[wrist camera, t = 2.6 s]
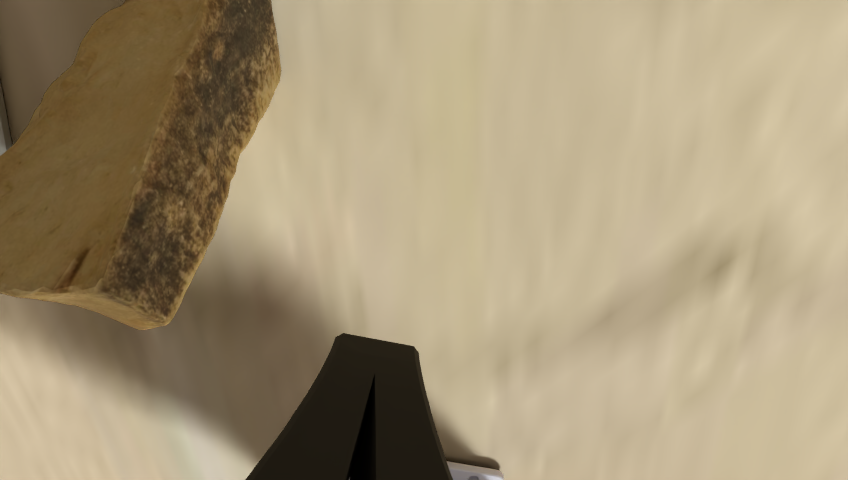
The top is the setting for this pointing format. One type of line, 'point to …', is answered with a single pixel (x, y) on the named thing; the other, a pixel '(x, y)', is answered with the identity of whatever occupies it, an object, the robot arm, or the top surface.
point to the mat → (4, 127)
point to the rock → (135, 156)
